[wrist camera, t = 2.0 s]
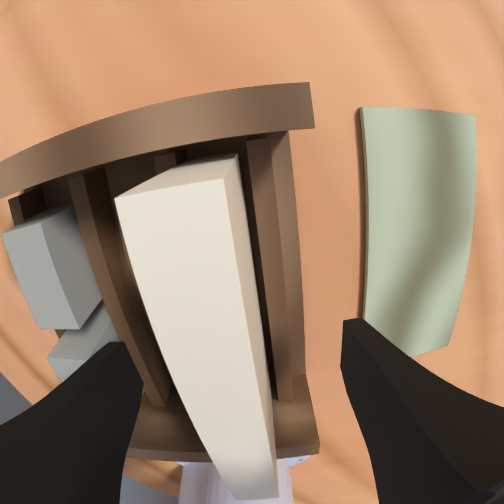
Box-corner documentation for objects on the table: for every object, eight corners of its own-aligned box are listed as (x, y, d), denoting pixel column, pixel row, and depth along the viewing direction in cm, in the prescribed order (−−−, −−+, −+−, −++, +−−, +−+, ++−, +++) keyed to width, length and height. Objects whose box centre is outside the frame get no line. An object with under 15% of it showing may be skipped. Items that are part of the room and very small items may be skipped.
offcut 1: (76, 286, 14) (39, 329, 10) (51, 206, 12) (1, 233, 9) (114, 283, 14) (79, 329, 10) (89, 197, 12) (40, 222, 9)
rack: (112, 388, 18) (86, 450, 13) (27, 162, 12) (-49, 185, 7) (443, 347, 17) (481, 402, 12) (469, 106, 11) (547, 111, 6)
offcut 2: (115, 372, 16) (92, 425, 12) (84, 306, 15) (46, 357, 10) (150, 372, 16) (131, 430, 12) (121, 304, 14) (87, 360, 10)
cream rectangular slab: (238, 374, 16) (235, 500, 9) (195, 157, 12) (114, 198, 4) (269, 371, 16) (279, 498, 9) (238, 150, 12) (223, 178, 4)
